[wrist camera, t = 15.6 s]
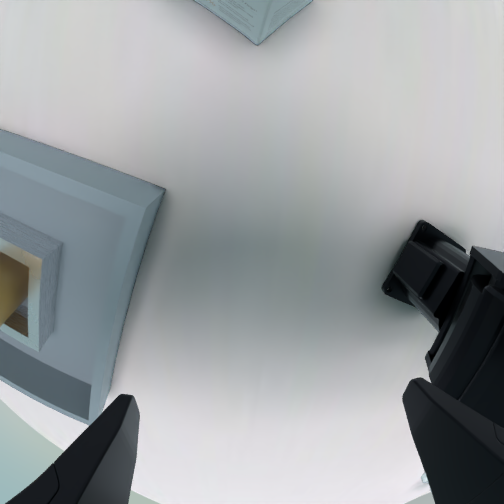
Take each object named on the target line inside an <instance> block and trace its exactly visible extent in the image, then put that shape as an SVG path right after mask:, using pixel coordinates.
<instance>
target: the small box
mask: <svg viewBox="0 0 504 504" xmlns="http://www.w3.org/2000/svg"><path fill="white" fill-rule="evenodd" d="M195 1H196V2H198V3H199V4H201V5H202V6H204V7H205V8H207V9H208V10H210V11H211V12H213V13H214V14H216V15H217V16H218V17H220V18H221V19H223V20H224V21H226V22H227V23H228V24H230V25H231V26H233V27H234V28H235V29H237V30H238V31H239V32H241V33H242V34H243V35H245V36H246V37H247V38H248V39H250V40H251V41H252V42H253V43H254V44H256V45H259V44H260V43H261V42H262V41H263V40H264V39H265V38H267V37H268V36H269V35H270V34H271V33H272V32H274V31H275V30H276V29H277V28H278V27H280V26H281V25H282V24H283V23H284V22H286V21H287V20H288V19H289V18H291V17H292V16H293V15H295V14H296V13H297V12H298V11H300V10H301V9H302V8H304V7H305V6H306V5H307V4H309V3H310V2H311V1H313V0H195Z"/></svg>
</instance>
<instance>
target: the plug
mask: <svg viewBox="0 0 504 504" xmlns="http://www.w3.org/2000/svg"><path fill="white" fill-rule="evenodd" d="M28 282H29V267H28V266H26V265H24V264H23V263H21V262H19V261H17V260H15V259H13V258H11V257H9V256H8V255H6V254H4V253H2V252H0V327H1V326H2V324H3V323H4V322H5V321H6V320H7V319H8V318H9V317H10V315H11V314H12V313H13V312H14V311H15V310H16V309H17V308H18V307H19V306H20V305H21V304H22V303H23V301H24V300H25V299H26V298H27V297H28Z"/></svg>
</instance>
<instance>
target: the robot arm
mask: <svg viewBox="0 0 504 504" xmlns="http://www.w3.org/2000/svg"><path fill="white" fill-rule="evenodd" d="M423 226H424V228H423V229H422V227H423ZM388 287H390V288H389V289H388ZM387 289H388V290H387ZM382 291H383V292H384V293H385V294H386V295H388V296H390V297H393V298H395V299H397V300H400V301H402V302H405V303H407V304H409V305H412V306H414V307H416V308H417V309H418V310H419V311H420V312H421V313H422V314H423V315H424V316H425V317H426V319H427V320H428V321H429V322H430V323H431V324H432V325H433V326H434V327H435V329H436V330H437V331H438V332H439V333H438V335H437V337H436V339H435V341H434V343H433V345H432V347H431V349H430V351H428V352H427V354H426V356H425V360H426V363H427V367H428V370H429V377H430V380H431V383H432V384H431V383H430V382H428V381H426V380H425V379H423V378H415V379H412V380H411V381H410V382H409V384H408V386H407V388H406V390H405V392H404V394H403V398H402V399H403V404H404V408H405V411H406V415H407V419H408V423H409V427H410V430H411V434H412V437H413V440H414V443H415V445H416V448H417V451H418V454H419V456H420V459H421V462H422V465H423V468H424V470H425V473H426V476H427V479H428V482H429V485H430V488H431V491H432V494H433V498H434V501H435V504H504V252H499V251H495V250H490V249H486V248H481V247H477V246H472V248H471V251H470V256H469V255H467V254H466V250H465V249H464V248H463V247H462V246H460V245H459V244H457V243H456V242H455V241H453V240H452V239H451V238H449V237H448V236H446V235H445V234H444V233H442V232H441V231H439V230H438V229H436V228H435V227H434V226H432V225H431V224H429V223H428V222H426V221H424V220H422V221H420V222H419V223H418V224H417V226H416V228H415V230H414V232H413V234H412V236H411V238H410V240H409V241H408V243H407V245H406V247H405V249H404V251H403V252H402V254H401V256H400V258H399V259H398V261H397V263H396V265H395V266H394V268H393V270H392V271H391V273H390V275H389V276H388V278H387V280H386V281H385V283H384V285H383V287H382ZM139 420H140V413H139V409H138V406H137V403H136V401H135V398H134V396H133V395H128V394H120V395H119V396H118V397H117V398H116V399H115V400H114V401H113V402H112V403H111V404H110V405H109V406H108V407H107V408H106V409H105V410H104V411H103V412H102V413H101V414H100V415H99V416H98V418H97V419H96V420H95V421H94V422H93V423H92V424H91V425H90V426H89V427H88V428H87V429H86V430H85V431H84V432H83V433H82V434H81V435H80V436H79V437H78V438H77V439H76V440H75V441H74V442H73V443H72V444H71V445H70V446H69V447H68V448H67V449H66V450H65V451H64V452H63V453H62V454H61V456H59V457H58V458H57V460H56V461H55V462H54V463H53V464H51V466H50V467H49V468H48V469H47V470H46V471H45V472H43V474H41V475H40V476H39V477H38V478H37V479H36V480H35V481H34V482H32V483H31V484H30V485H29V486H28V487H26V488H25V489H24V490H23V491H21V492H20V493H19V494H17V495H16V496H15V497H13V498H12V499H11V500H10V501H8V502H7V503H5V504H128V502H129V496H130V490H131V484H132V479H133V474H134V468H135V463H136V456H137V443H138V431H139Z"/></svg>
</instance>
